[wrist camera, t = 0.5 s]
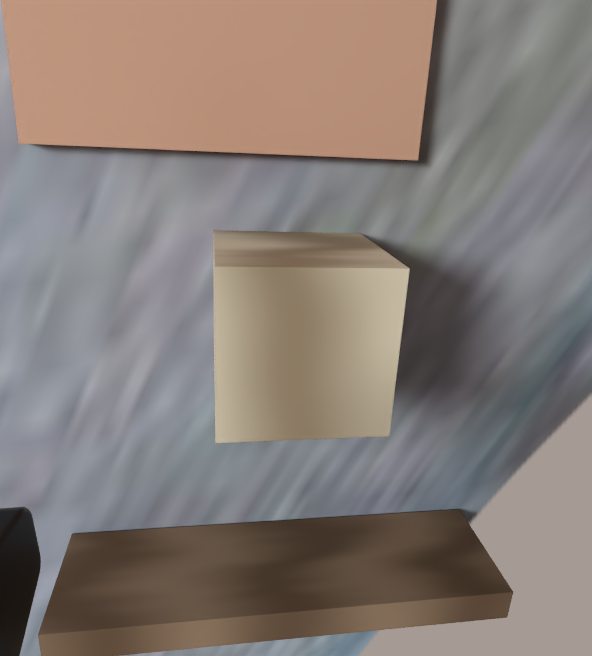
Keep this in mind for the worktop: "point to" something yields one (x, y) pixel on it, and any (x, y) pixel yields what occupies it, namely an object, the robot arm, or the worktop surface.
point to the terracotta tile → (222, 74)
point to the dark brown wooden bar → (268, 582)
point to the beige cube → (305, 335)
